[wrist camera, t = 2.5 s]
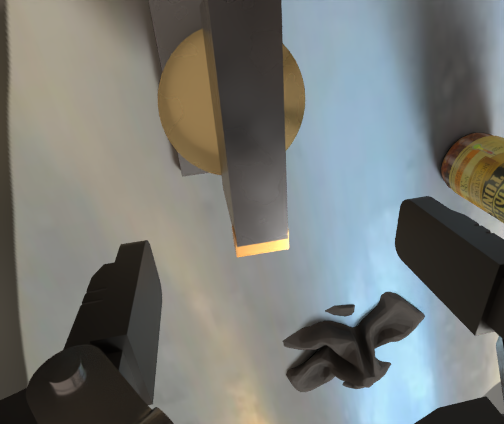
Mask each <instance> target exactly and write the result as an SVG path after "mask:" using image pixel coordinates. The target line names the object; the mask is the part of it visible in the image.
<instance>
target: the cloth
mask: <svg viewBox="0 0 504 424" xmlns="http://www.w3.org/2000/svg"><path fill="white" fill-rule="evenodd" d="M354 307H355V305H339V306H333V307H331V308H329V309H327V310H325V311H326V312H328V313H331V314H333V315H339V316H349V315H352V313H353V312H354ZM424 317H425V315H424V314H423V313H422V312H420V311H419V310H417V309H416V308H415V307H413V306H412V305H411V304H409V303H408V302H407V301H405V300H404V299H403V298H402V297H400V296H399V295H398V294H396V293H392V292H385V293H384V294H382V295H381V298H380V301H379V303H378V305H377V306H376V307H375V308H374V309H373V310H372V311H371V312H370V313H369V314H368V315H367V316H366V317H365V318H364V319H363V320H362V321H361V322H360V323H359V325H358V326H356V327H354V328H352V327H349V326H347V325H344V324H341V323H337V322H333V321H323V322H318V323H316V324H314V325H312V326H310V327H305V328H302V329H300V330H299V331H297V332H296V333H294V334H292V335H291V336H289V337H288V338H286V339H285V340H283V343H284V346H285V347H289V348H294V349H299V350H316V349H318V348H320V347H322V346H323V347H322V348H321V349H320V350H318V351H317V352H316V353H315V354H314V355H313V356H312V357H311V358H310V359H309V360H308V361H307V362H305V363H304V364H302V365H300V366H297V367H295V368H292V369H290V370H289V371H288V372H287V377H288V379H289V380H290V382H291V384H292V385H293V386H294V387H295V388H296V389H297V390H298V391H300V392H307V391H311V390H313V389H315V388H317V387H319V386H321V385H323V384H324V383H327V382H329V381H330V380H332V379H333V378H334V377H335V376H336V377H337V378H339V379H340V380H343V381H345V382H343V386H345V387H349V388H353V389H360V388H364V387H370V386H372V385H373V383H375V382H376V381H378V380H380V379H381V378H382V377H383V376H384V375H385V374H386V372H387V370H388V368H389V367H390V365H391V363H390V362H382V361H379V360H378V359H377V358H376V357H375V350H374V349H375V348H377V347H379V346H382V345H384V344H387V343H389V342H396V341H400V340H402V339H403V338H405V337H407V336H408V335H409V334H410V333H411V332H412V331H413V330H414V329H415V328H416V327H417V326H418V324H419V323H420V322H421V321H422V320H423V319H424Z"/></svg>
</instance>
